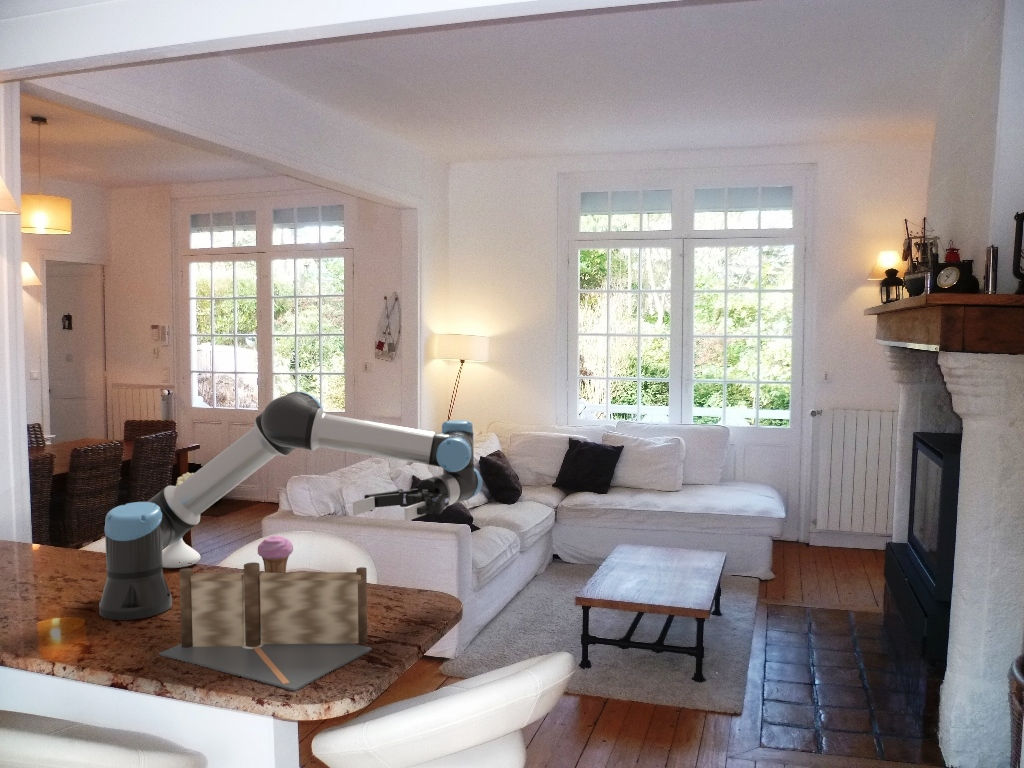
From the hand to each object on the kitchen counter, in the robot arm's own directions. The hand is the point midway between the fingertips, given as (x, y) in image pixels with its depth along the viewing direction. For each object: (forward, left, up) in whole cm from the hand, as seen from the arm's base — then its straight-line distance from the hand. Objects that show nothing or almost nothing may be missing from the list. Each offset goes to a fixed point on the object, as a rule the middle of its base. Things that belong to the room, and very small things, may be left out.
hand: (379, 511), depth 182 cm
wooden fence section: (-22, -23, -25) cm, 41 cm away
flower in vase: (-77, +14, -26) cm, 82 cm away
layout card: (-12, -21, -25) cm, 35 cm away
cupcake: (-49, +20, -26) cm, 59 cm away
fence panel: (-6, -14, -25) cm, 29 cm away
